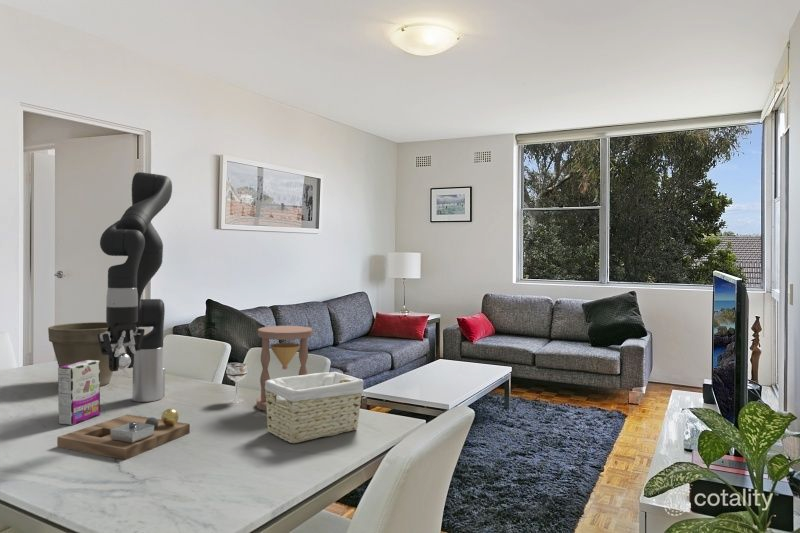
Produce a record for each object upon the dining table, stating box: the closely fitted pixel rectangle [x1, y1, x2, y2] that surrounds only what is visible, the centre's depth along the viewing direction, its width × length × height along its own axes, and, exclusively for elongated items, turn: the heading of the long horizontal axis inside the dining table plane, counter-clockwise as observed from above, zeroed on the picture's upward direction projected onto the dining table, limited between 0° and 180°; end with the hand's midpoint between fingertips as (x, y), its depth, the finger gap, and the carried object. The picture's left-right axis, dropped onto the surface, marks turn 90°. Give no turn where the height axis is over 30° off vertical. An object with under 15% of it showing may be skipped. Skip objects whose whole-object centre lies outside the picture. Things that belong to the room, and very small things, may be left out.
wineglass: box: [226, 362, 248, 404], centre depth 189 cm, size 7×7×12 cm
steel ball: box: [117, 352, 131, 371], centre depth 151 cm, size 4×4×4 cm
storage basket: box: [265, 371, 365, 444], centre depth 159 cm, size 24×16×15 cm
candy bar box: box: [57, 360, 101, 426], centre depth 165 cm, size 11×5×16 cm, turn 168°
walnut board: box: [56, 414, 191, 461], centre depth 149 cm, size 22×22×2 cm
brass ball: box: [161, 408, 180, 426], centre depth 154 cm, size 4×4×4 cm
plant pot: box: [47, 321, 116, 387], centre depth 208 cm, size 25×25×22 cm
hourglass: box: [255, 325, 314, 412], centre depth 185 cm, size 18×18×25 cm
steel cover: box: [110, 422, 154, 443], centre depth 143 cm, size 7×7×3 cm
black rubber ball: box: [145, 416, 158, 429], centre depth 150 cm, size 3×3×3 cm
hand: (121, 369), depth 151 cm, fingers closed on steel ball, 4 cm apart
